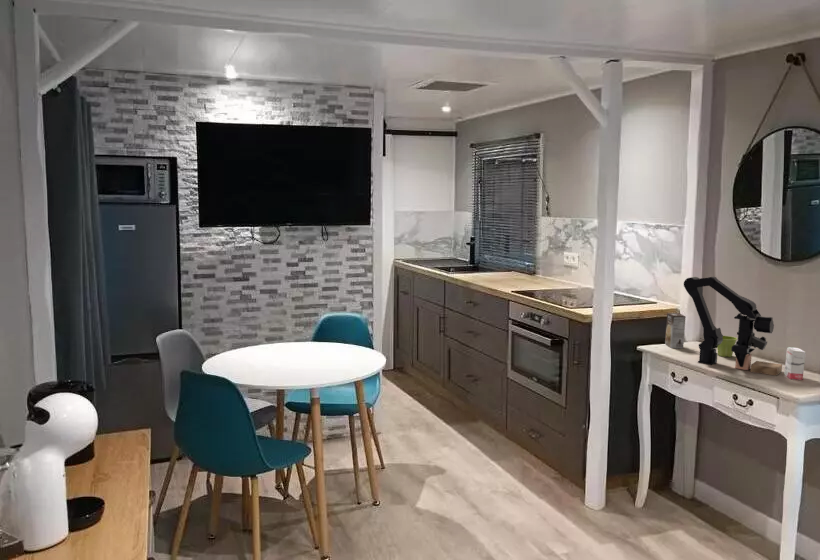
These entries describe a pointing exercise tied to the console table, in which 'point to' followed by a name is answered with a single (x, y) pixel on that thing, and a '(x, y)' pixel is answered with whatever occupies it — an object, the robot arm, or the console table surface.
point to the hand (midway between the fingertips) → (743, 365)
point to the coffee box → (675, 330)
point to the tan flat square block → (766, 368)
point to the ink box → (794, 363)
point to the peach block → (746, 363)
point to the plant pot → (726, 346)
